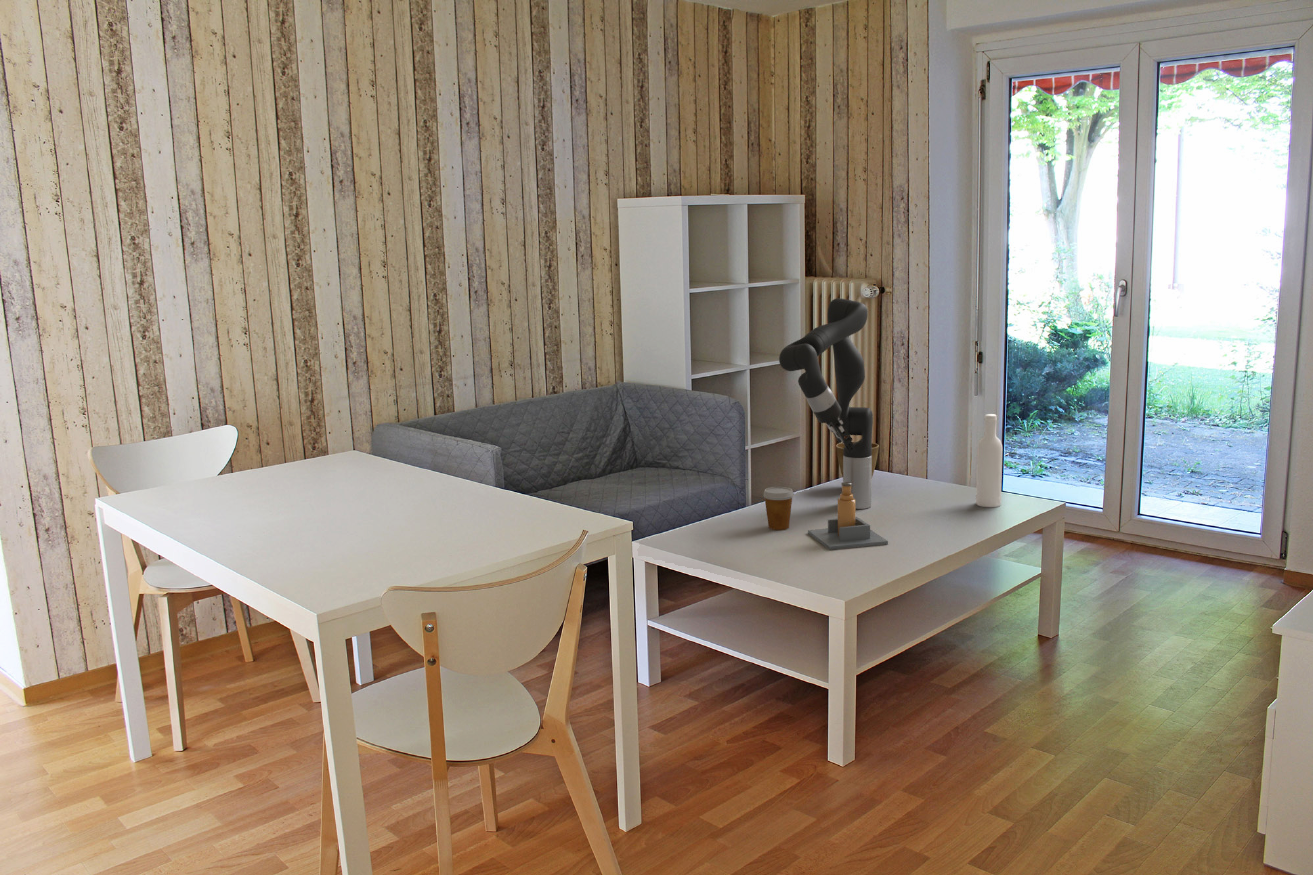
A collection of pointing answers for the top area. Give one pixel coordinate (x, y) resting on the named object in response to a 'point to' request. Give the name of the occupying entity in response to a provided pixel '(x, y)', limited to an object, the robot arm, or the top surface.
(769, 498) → the disposable coffee cup
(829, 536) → the u rest
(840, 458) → the plant pot
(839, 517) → the bottle
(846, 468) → the robot arm
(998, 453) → the bottle
